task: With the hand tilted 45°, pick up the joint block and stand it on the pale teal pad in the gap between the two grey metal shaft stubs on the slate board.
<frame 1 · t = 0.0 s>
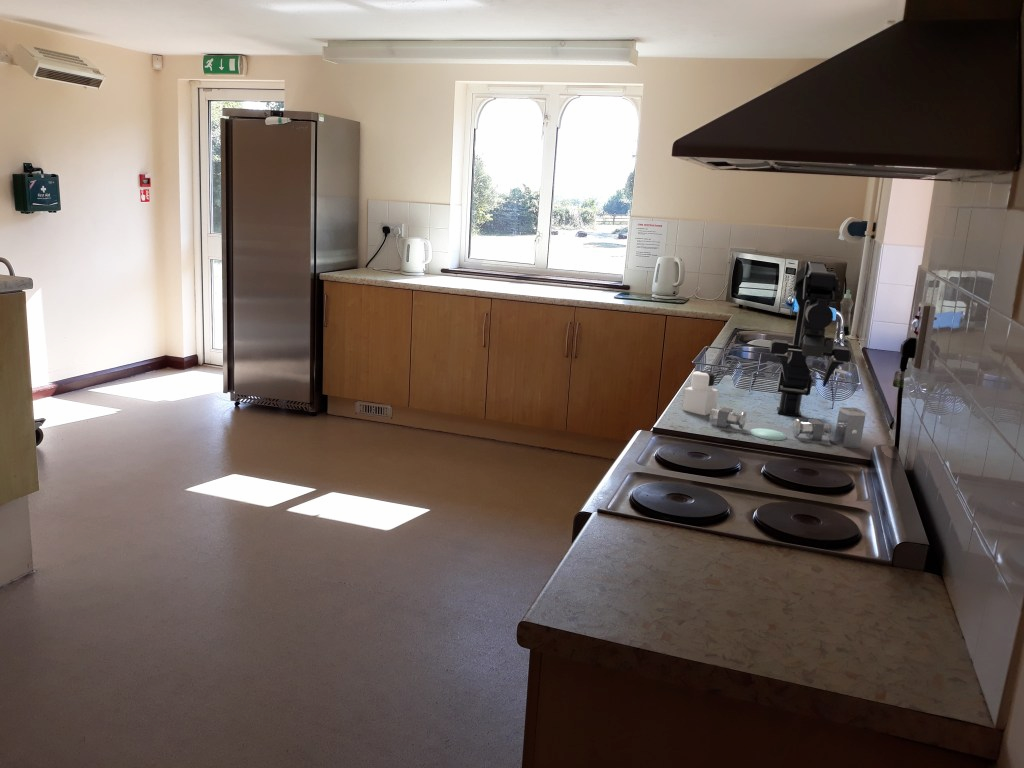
hand: (804, 384, 206), 15 cm above the worktop, tool pointing down, fingers open, 9 cm apart
medicine bottle: (698, 414, 228), on the worktop
shaft 1: (725, 426, 214), resting on coupling board
coupling board: (767, 434, 213), on the worktop
shaft 2: (811, 438, 209), resting on coupling board
joint block: (846, 448, 205), on the worktop
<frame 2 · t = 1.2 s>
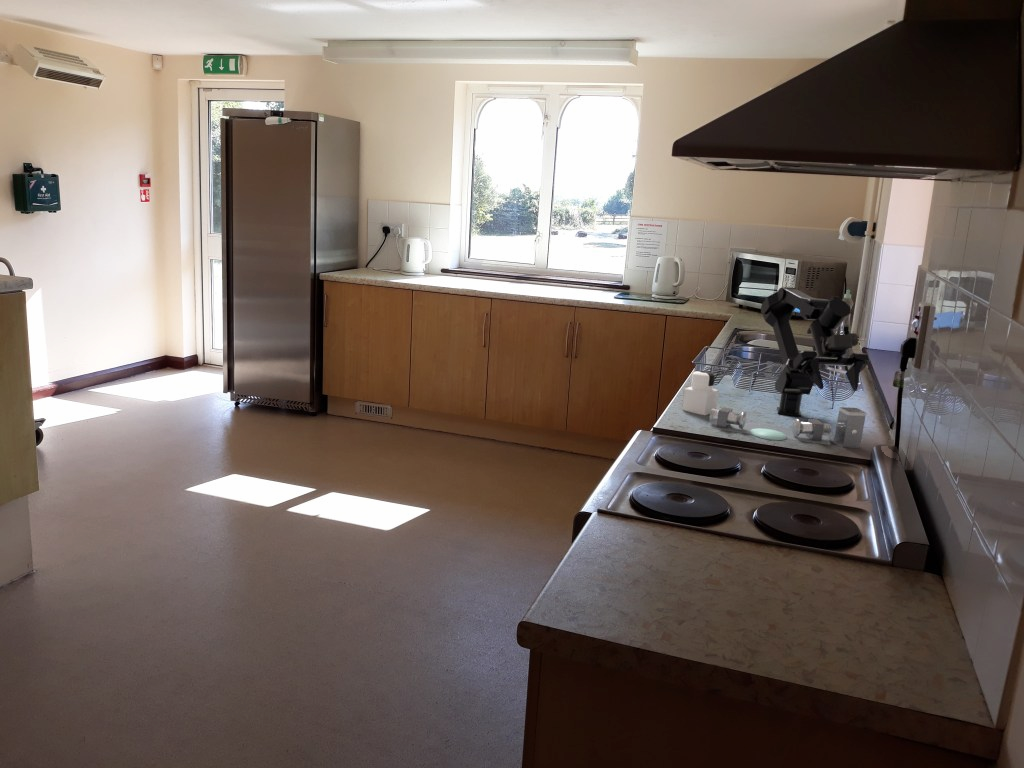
hand: (838, 389, 210), 13 cm above the worktop, tool tilted 45°, fingers open, 9 cm apart
nothing on the worktop moved.
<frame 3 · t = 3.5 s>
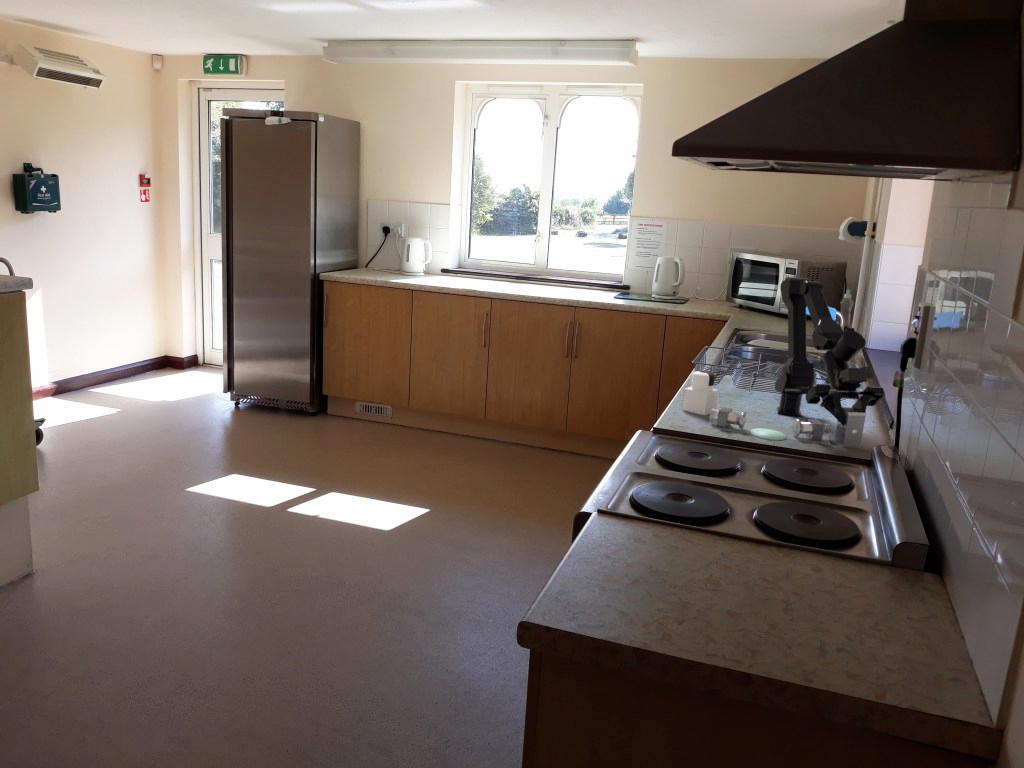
hand: (853, 424, 203), 7 cm above the worktop, tool tilted 45°, fingers closed on joint block, 4 cm apart
joint block: (846, 448, 205), on the worktop, touching gripper
everything else where it was.
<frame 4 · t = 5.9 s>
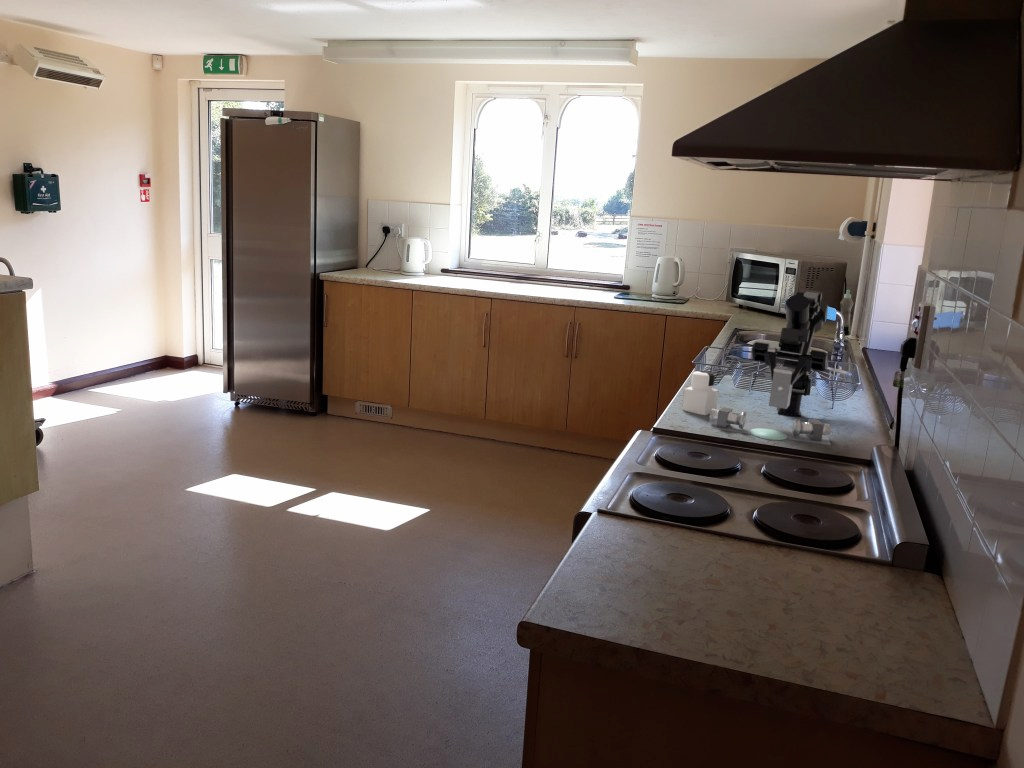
hand: (781, 382, 213), 13 cm above the worktop, tool tilted 45°, fingers closed on joint block, 4 cm apart
joint block: (779, 405, 216), point 7 cm above the worktop, touching gripper
everything else where it was.
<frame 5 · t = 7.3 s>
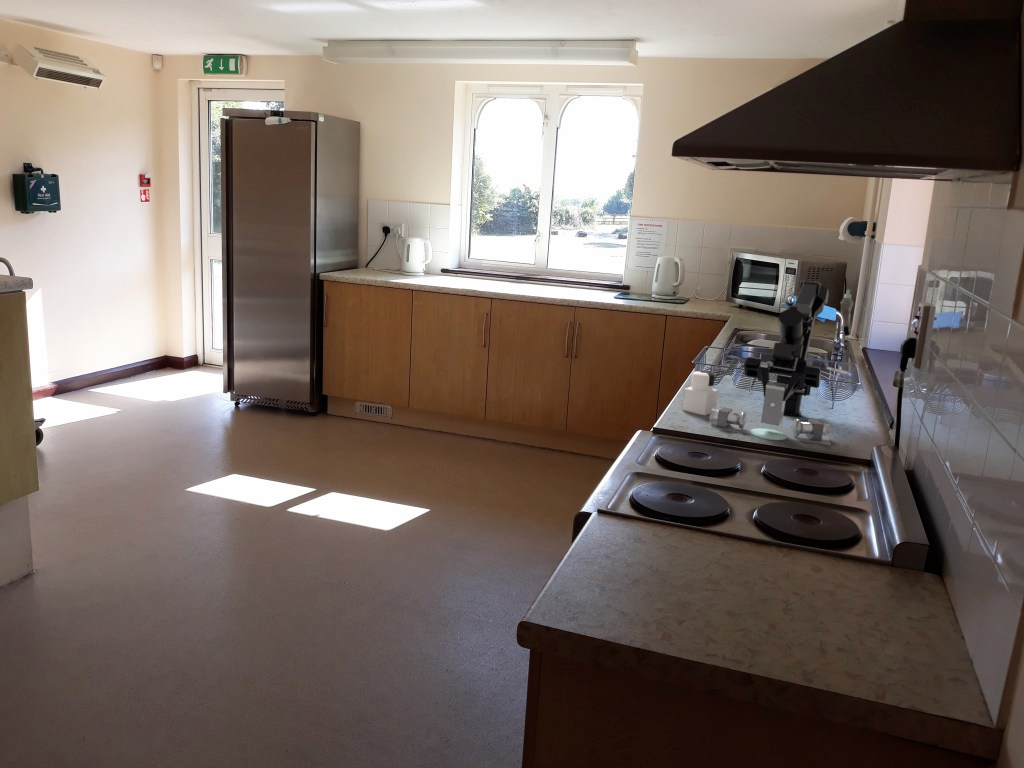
hand: (774, 398, 208), 10 cm above the worktop, tool tilted 45°, fingers closed on joint block, 4 cm apart
joint block: (771, 422, 210), point 4 cm above the worktop, touching gripper
everything else where it was.
when the fingers open (9 cm above the worktop, at t = 8.2 s): joint block drops 1 cm, resting on coupling board.
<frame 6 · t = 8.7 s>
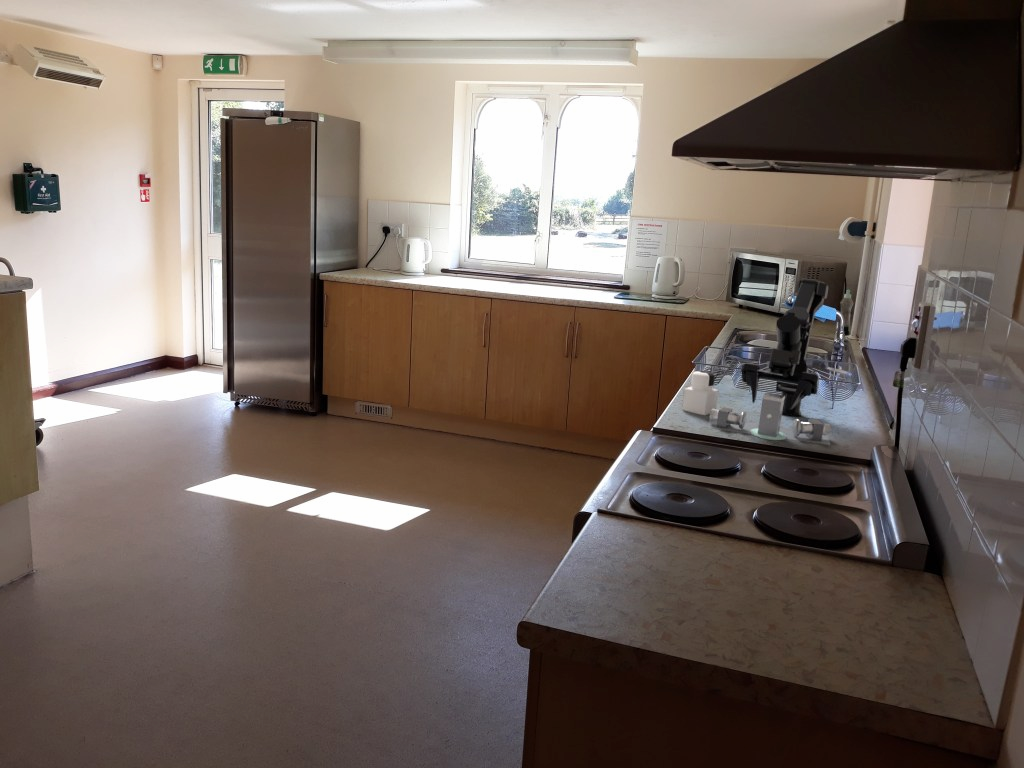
hand: (771, 405, 206), 9 cm above the worktop, tool tilted 45°, fingers open, 9 cm apart
joint block: (768, 433, 209), point 1 cm above the worktop, touching coupling board
everything else where it was.
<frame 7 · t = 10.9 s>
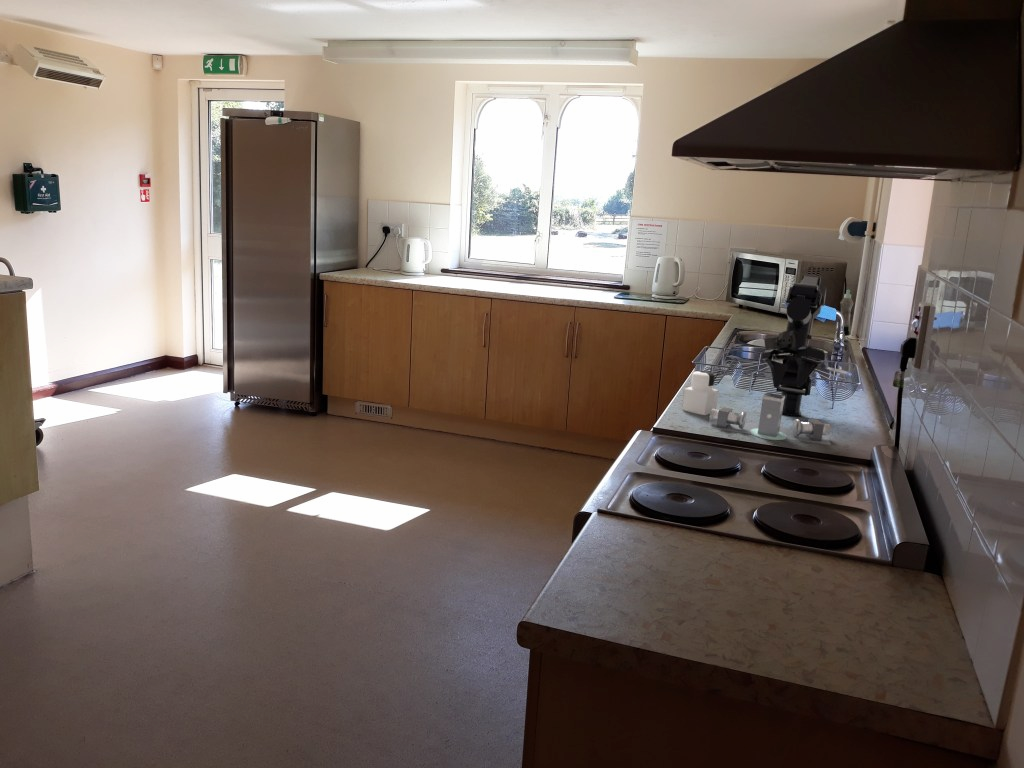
hand: (786, 387, 215), 12 cm above the worktop, tool tilted 20°, fingers open, 9 cm apart
nothing on the worktop moved.
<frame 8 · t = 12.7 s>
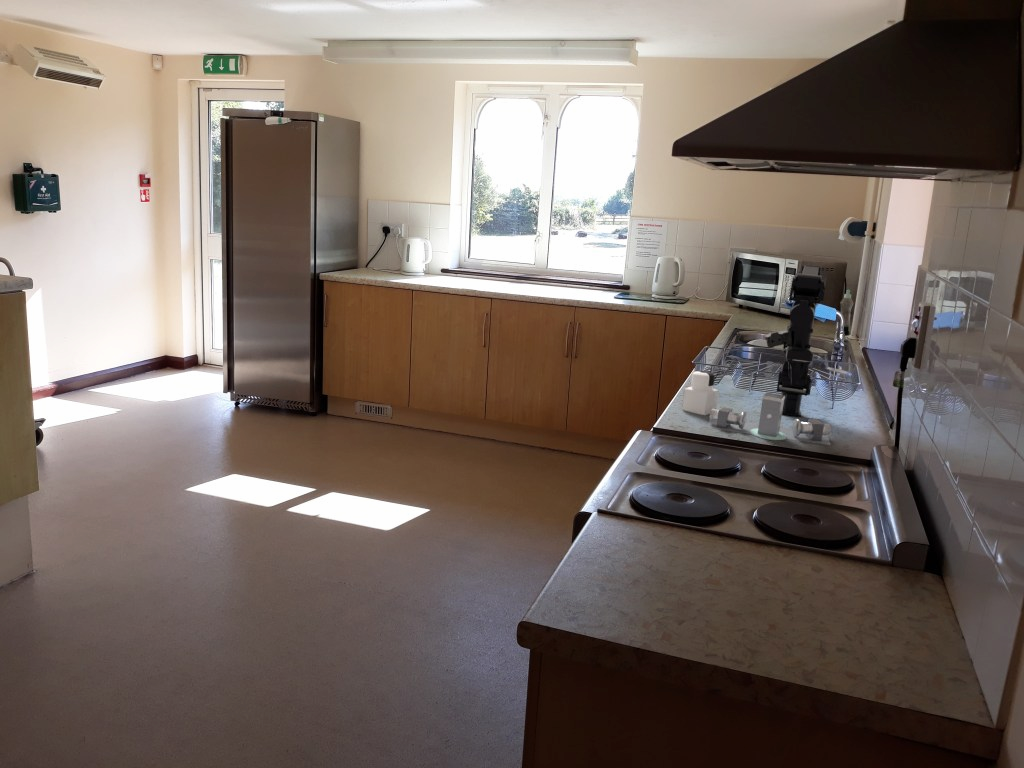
hand: (792, 381, 217), 13 cm above the worktop, tool pointing down, fingers open, 9 cm apart
nothing on the worktop moved.
at the end: joint block inside the target area (0.0 cm from its centre), point 1.3 cm above the worktop; joint block tilted 0°; the gripper is holding nothing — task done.
